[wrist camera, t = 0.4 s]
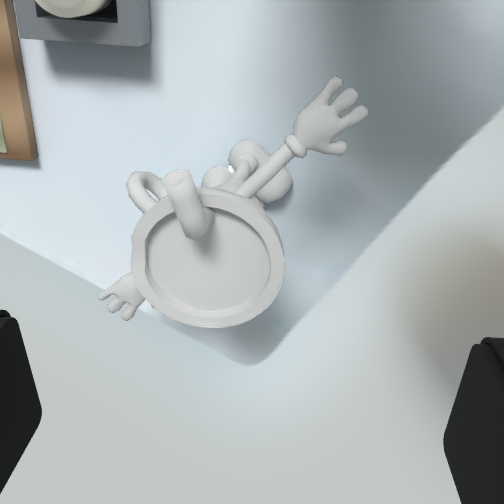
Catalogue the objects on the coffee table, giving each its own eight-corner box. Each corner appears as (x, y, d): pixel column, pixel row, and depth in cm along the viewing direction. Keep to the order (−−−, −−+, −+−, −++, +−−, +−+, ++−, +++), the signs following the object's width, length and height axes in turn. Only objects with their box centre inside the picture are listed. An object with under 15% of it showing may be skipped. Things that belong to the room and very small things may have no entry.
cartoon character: (183, 278, 50) (128, 434, 33) (94, 203, 46) (-19, 334, 29) (379, 111, 40) (446, 208, 23) (287, 0, 37) (286, 18, 20)
